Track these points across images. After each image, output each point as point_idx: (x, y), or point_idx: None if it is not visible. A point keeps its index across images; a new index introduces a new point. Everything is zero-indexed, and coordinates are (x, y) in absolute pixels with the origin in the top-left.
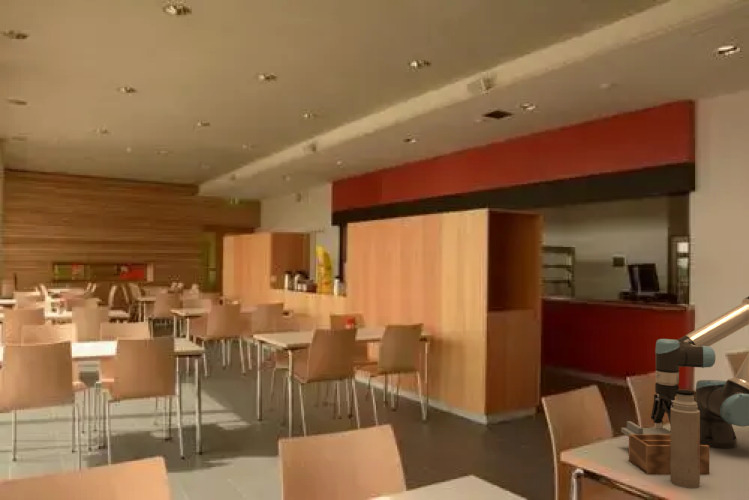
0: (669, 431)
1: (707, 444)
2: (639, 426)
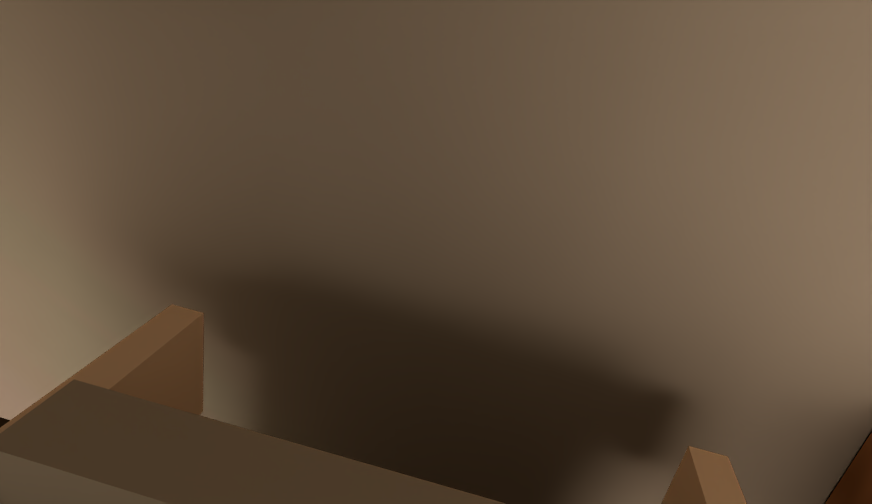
0: None
1: None
2: None
